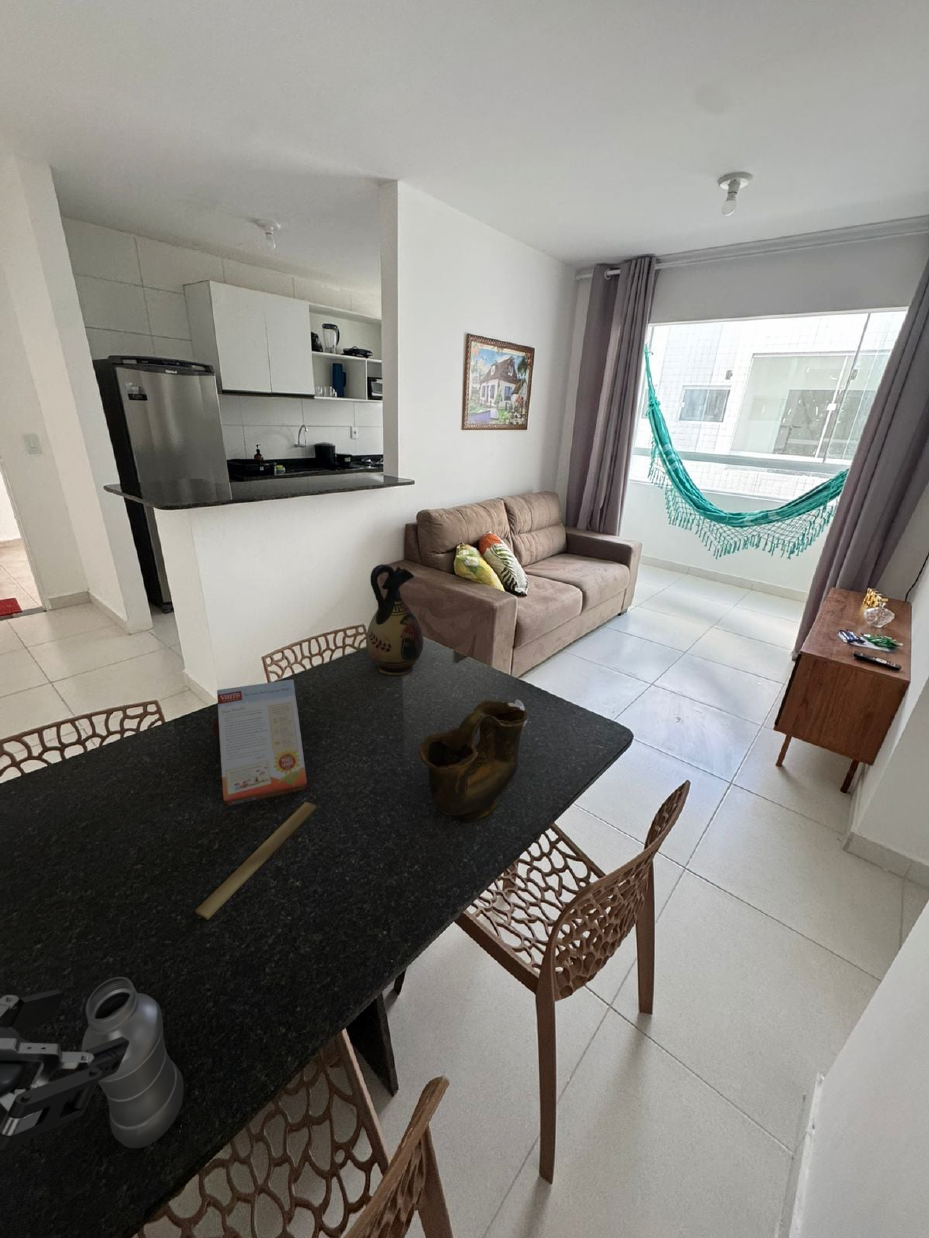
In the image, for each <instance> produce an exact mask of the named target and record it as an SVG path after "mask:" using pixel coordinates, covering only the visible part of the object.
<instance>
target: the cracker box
mask: <svg viewBox="0 0 929 1238" xmlns="http://www.w3.org/2000/svg"><path fill="white" fill-rule="evenodd" d="M294 681H295V680H294V679H287V680H278V681H270V682H264V683H258V684H249V685H243V686H236V687H229V688H221V689H216V695H217V696H216V697H217V698H216V699H217V714H218V715H217V716H218V717H219V734H220V745H219V750H220V751H219V752H220V767H221V780H222V781H221V782H222V796H223V801H224V803H225V804H226V805H227V807H230V806H234V805H239V804H243V803H248V802H253V801H257V800H262V799H267V798H271V797H275V796H280V795H285V794H289V793H294V792H298V791H303V790H306V789H307V783H308V781H307V775H306V774H307V773H306V766H305V759H304V750H303V741H302V735H301V727H300V719H299V711H298V704H297V698H296V690H295V682H294Z"/></svg>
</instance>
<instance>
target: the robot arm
mask: <svg viewBox="0 0 929 1238" xmlns="http://www.w3.org/2000/svg"><path fill="white" fill-rule="evenodd" d="M64 997H65V993H64V992H63V991H62V990H60V989H59V988H54V989H52V990H47V991H41V992H38V993H37V992H36V993H34V994H31V995H29V994H28V995H25V996H21V997H19V996H17V995H16V994H5V995H2V996H1V997H0V1151H5V1150H8V1149H11V1148H13V1147H15V1146H18V1145H20V1144H22V1143H25V1142H26V1141H29V1140H31V1139H33V1138H36V1137H38V1136H40V1135H42V1134H44V1133H46V1132H48V1131H51V1130H53V1129H55V1128H57V1127H60V1126H62V1125H64V1124H66V1123H68V1122H71V1121H73V1120H75V1119H77V1118H80V1117H82V1116H83V1115H84V1113H85V1112H86V1109H87V1108H88V1105H89V1103H90V1100H91V1098H92V1096H93V1094H94V1093H95V1090H96V1088H97V1086H98V1081H99V1080H101V1079H103V1078H106V1077H108V1076H110V1075H112V1074H114V1073H115V1072H116V1071H117V1070H118V1069H119V1066H120V1064H121V1062H122V1060H123V1058H124V1056H125V1053H126V1051H127V1048H128V1045H129V1041H128V1040H127V1039H126V1038H124V1037H123V1036H122V1037H119V1038H116V1039H114V1040H111V1041H109V1042H106V1043H103V1044H101V1045H98V1046H96V1047H93V1048H90V1049H88V1050H86V1052H81V1051H63V1050H62V1048H61V1045H60V1044H59V1043H49V1042H48V1043H46V1042H31V1041H29V1040H27V1039H25V1038H23V1037H21V1036H20V1034H19V1033H18V1031H19V1030H22V1029H25V1028H29V1027H31V1026H36V1025H38V1024H42V1023H44V1022H48V1021H50V1020H51V1019H52V1018H54V1016H55V1015H56V1013H57V1011H58V1009H59V1008H60V1005H61V1003H62V1001H63V1000H64ZM33 1062H40V1063H41V1064H40V1066H39V1069H38V1070H37V1073H36V1074H35V1076H34V1078H33V1080H32V1081H31V1083H30V1084H29V1085H28V1086H27V1087H25V1088H21V1089H20V1088H19V1089H17V1088H18V1087H19V1086H20V1085H21V1083H22V1082H23V1080H25V1077H26V1075H27V1073H28V1071H29V1069H30V1067H31V1065H32V1063H33ZM56 1070H68V1073H67V1075H66V1076H64V1077H60V1078H58V1079H55V1080H53V1081H49V1080H50V1078H51V1076H52V1075H53V1073H54V1072H56Z"/></svg>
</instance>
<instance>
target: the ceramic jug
mask: <svg viewBox="0 0 929 1238" xmlns="http://www.w3.org/2000/svg"><path fill="white" fill-rule="evenodd" d="M384 573H387V577H386V578H385V580H384V582H383V584H382V586H381V588H382V589H383V590H386V594H385V597H384V596H383V594H382V592H381V588H380V585H379V577H380V576H381V575H383V574H384ZM369 577H370V586H371V588H372V591H373V594H374V597H375V601H376V602H377V610H376V611H375V613H374V614H373V616H372V618H371V620H370V622H369V625H368V628H367V630H366V631H367V632H366V637H365V647H366V652H367V655H368V656H369V658H370V660H371V661H372V662H373V663H374V664H376V666H377V667H378V671H379V673H382V674H385V675H388V676H403V675H407V674H410V673H412V672H413V668H414V667H413V666H414V665H415V664H416V662H417V661H418V660H419V658H420V657H421V655H422V652H423V649H424V635H423V631H422V627H421V624H420V622H419V620H418V617H416V615H415V613H414V612H413V611H412V609H411V608H410V606H409V605H408V604H407V602H405V600H404V598H402V596H401V591H400V588H401V587H402V586H403V585H404V584H405V583H406V582H408V581H411V580H412V579H414V577H415V576H414V574H413V573H412V572H411V571H409V569H406V568H401V567H400V566H396V569H394V568H393V567H392V566H391V565H388V564H383V563H381V564H378V565H375V567H373V569H372V571H371V572H370V575H369Z"/></svg>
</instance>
